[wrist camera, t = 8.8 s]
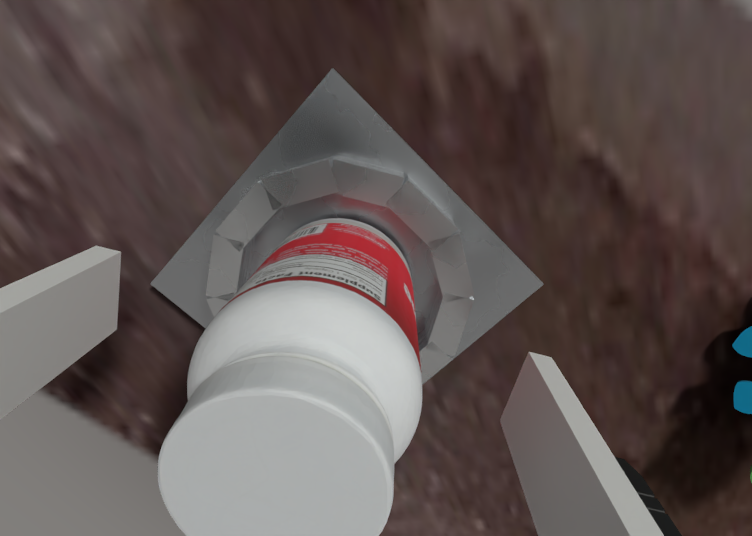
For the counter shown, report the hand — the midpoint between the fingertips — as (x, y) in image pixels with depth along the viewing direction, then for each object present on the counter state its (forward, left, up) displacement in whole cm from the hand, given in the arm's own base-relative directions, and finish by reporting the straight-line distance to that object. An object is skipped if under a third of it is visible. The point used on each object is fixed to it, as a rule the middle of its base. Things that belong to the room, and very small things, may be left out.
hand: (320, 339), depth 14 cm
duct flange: (0, 0, -6) cm, 6 cm away
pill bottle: (0, 0, -5) cm, 5 cm away
